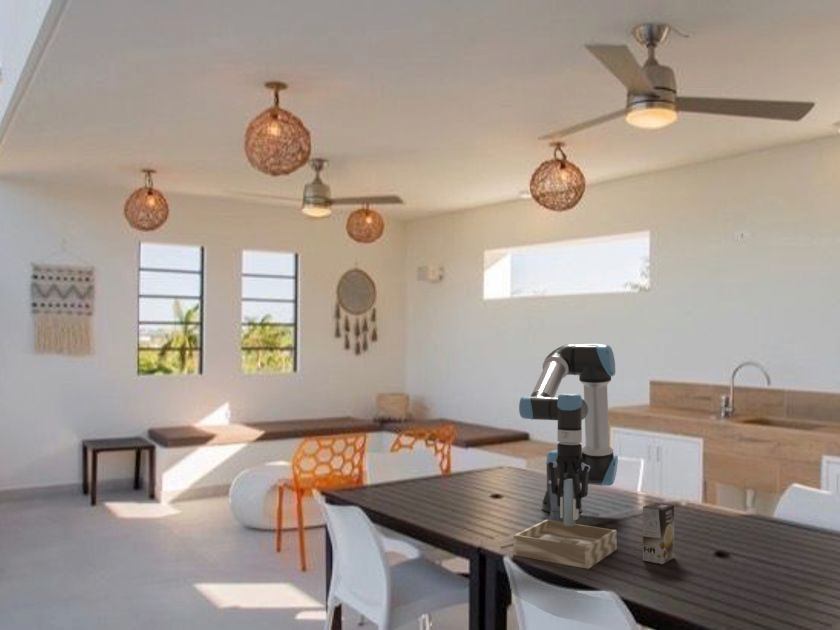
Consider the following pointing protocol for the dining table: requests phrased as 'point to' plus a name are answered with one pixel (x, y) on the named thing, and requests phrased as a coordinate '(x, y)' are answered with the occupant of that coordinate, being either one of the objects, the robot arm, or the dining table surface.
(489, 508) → the dining table surface
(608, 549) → the box
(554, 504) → the moka pot
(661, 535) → the coffee box
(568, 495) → the peg
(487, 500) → the dining table surface
